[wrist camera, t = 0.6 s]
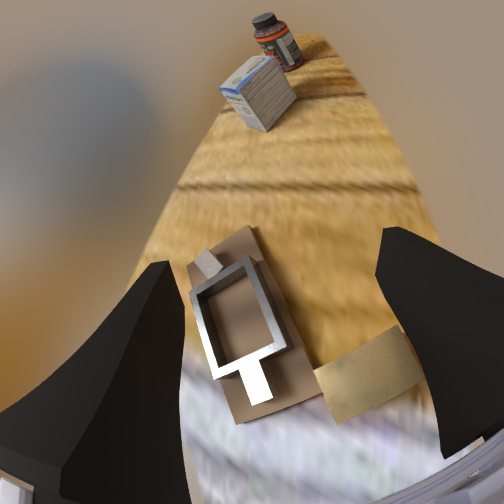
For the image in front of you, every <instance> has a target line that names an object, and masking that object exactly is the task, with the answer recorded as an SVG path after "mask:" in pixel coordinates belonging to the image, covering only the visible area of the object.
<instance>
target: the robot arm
mask: <svg viewBox="0 0 504 504" xmlns="http://www.w3.org/2000/svg"><path fill="white" fill-rule="evenodd" d="M375 276H376V279H377V281H378V283H379V286H380V288H381V290H382V292H383V295H384V297H385V299H386V301H387V302H388V304H389V306H390V307H391V309H392V311H393V312H394V314H395V316H396V317H397V319H398V321H399V322H400V324H401V326H402V328H403V329H404V331H405V333H406V335H407V336H408V338H409V340H410V342H411V343H412V345H413V347H414V349H415V351H416V353H417V356H418V358H419V361H420V363H421V366H422V368H423V371H424V374H425V377H426V380H427V383H428V386H429V389H430V393H431V396H432V400H433V404H434V408H435V413H436V417H437V423H438V430H439V437H440V448H441V453H442V455H443V458H444V459H447V458H449V457H450V456H452V455H454V454H455V453H457V452H459V451H460V450H462V449H463V448H465V447H466V446H468V445H470V444H471V443H473V442H474V441H475V440H477V439H478V438H480V437H481V436H483V439H484V441H485V442H484V443H483V444H481V445H480V446H479V447H477V448H476V449H474V450H473V451H471V452H470V453H468V454H467V455H465V456H464V457H462V458H461V459H459V460H458V461H456V462H454V463H453V464H451V465H450V466H448V467H446V468H444V469H443V470H441V471H439V472H437V473H436V474H434V475H432V476H430V477H428V478H426V479H424V480H422V481H420V482H418V483H416V484H414V485H412V486H410V487H408V488H406V489H404V490H401V491H399V492H397V493H395V494H392V495H390V496H387V497H385V498H382V499H380V500H377V501H374V502H372V503H369V504H504V278H502V277H500V276H498V275H495V274H493V273H491V272H489V271H486V270H484V269H482V268H480V267H478V266H476V265H474V264H472V263H470V262H468V261H466V260H464V259H462V258H460V257H458V256H456V255H455V254H453V253H451V252H449V251H447V250H445V249H443V248H441V247H440V246H438V245H436V244H434V243H432V242H430V241H428V240H426V239H424V238H422V237H421V236H419V235H416V234H414V233H412V232H410V231H408V230H406V229H403V228H400V227H390V228H383V233H382V239H381V245H380V251H379V257H378V262H377V267H376V272H375ZM184 337H185V306H184V304H183V301H182V298H181V295H180V293H179V290H178V287H177V284H176V281H175V278H174V275H173V272H172V269H171V266H170V263H169V260H167V261H161V262H154V263H151V264H150V265H149V266H148V267H147V268H146V269H145V270H144V272H143V273H142V274H141V275H140V277H139V278H138V279H137V280H136V282H135V283H134V284H133V285H132V287H131V288H130V289H129V291H128V292H127V293H126V294H125V296H124V297H123V298H122V299H121V301H120V302H119V303H118V304H117V306H116V307H115V308H114V309H113V310H112V312H111V313H110V314H109V315H108V317H107V318H106V319H105V320H104V321H103V322H102V324H101V325H100V326H99V327H98V329H97V330H96V331H95V332H94V333H93V334H92V335H91V336H90V338H89V339H88V340H87V341H86V342H85V343H84V344H83V345H82V346H81V347H80V348H79V349H78V350H77V351H76V352H75V353H74V354H73V355H72V356H71V357H70V358H69V359H68V360H67V361H66V362H65V363H64V364H62V365H61V366H60V367H59V368H58V369H57V370H56V371H55V372H54V373H53V374H52V375H51V376H49V377H48V378H47V379H46V380H45V381H43V382H42V383H41V384H40V385H39V386H38V387H36V388H35V389H34V390H33V391H31V392H30V393H28V394H27V395H26V396H25V397H23V398H22V399H20V400H19V401H18V402H16V403H15V404H13V405H11V406H10V407H9V408H7V409H6V410H4V411H2V412H1V413H0V469H1V470H3V471H4V472H6V473H8V474H10V475H12V476H14V477H16V478H18V479H20V480H22V481H24V482H26V483H28V484H30V485H33V486H34V491H31V490H28V489H26V488H24V487H22V486H20V485H18V484H16V483H14V482H12V481H10V480H8V479H6V478H4V477H2V478H1V482H0V504H192V503H191V498H190V494H189V489H188V484H187V479H186V472H185V466H184V459H183V451H182V441H181V430H180V413H179V390H180V378H181V368H182V358H183V347H184ZM478 469H479V472H478V474H477V475H475V476H473V477H471V478H469V477H468V476H470V475H471V474H473V473H474V472H475V471H477V470H478Z"/></svg>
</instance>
